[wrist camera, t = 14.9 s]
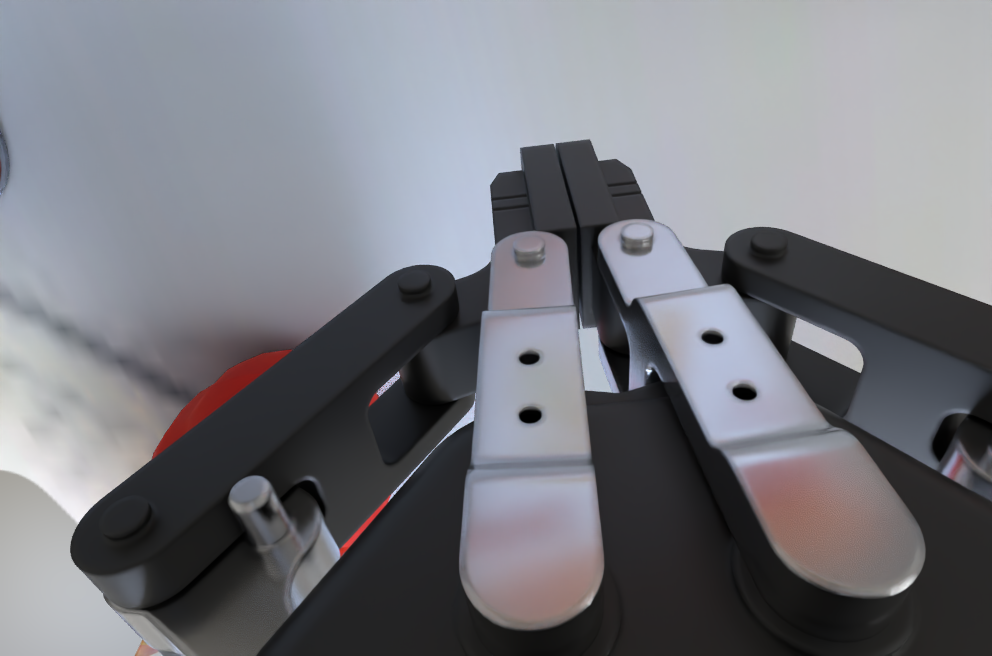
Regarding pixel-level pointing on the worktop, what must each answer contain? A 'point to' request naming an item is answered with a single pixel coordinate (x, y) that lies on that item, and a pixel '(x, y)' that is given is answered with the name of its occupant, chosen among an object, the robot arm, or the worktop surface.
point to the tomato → (222, 393)
